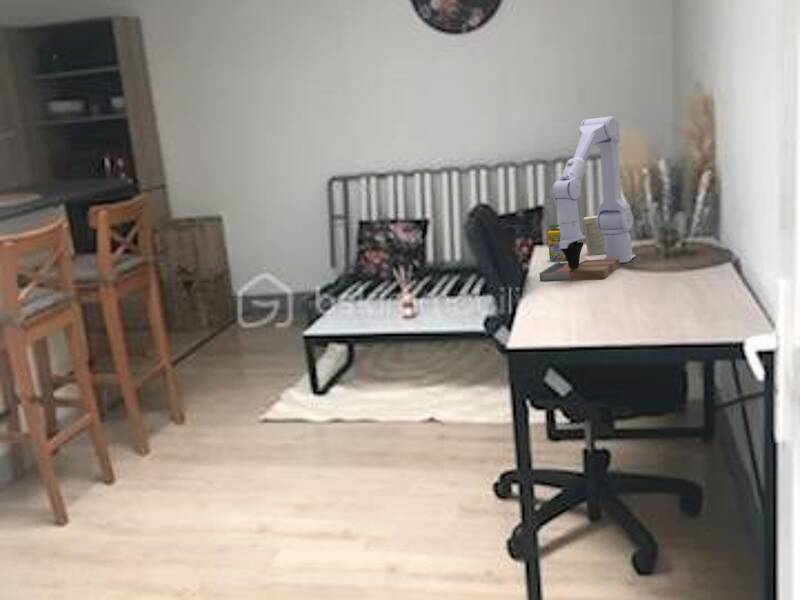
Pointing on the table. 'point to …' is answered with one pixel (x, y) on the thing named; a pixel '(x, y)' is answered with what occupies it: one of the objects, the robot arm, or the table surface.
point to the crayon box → (555, 244)
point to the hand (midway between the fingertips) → (574, 268)
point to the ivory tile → (582, 259)
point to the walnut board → (594, 269)
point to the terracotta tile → (563, 269)
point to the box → (551, 276)
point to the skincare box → (593, 236)
